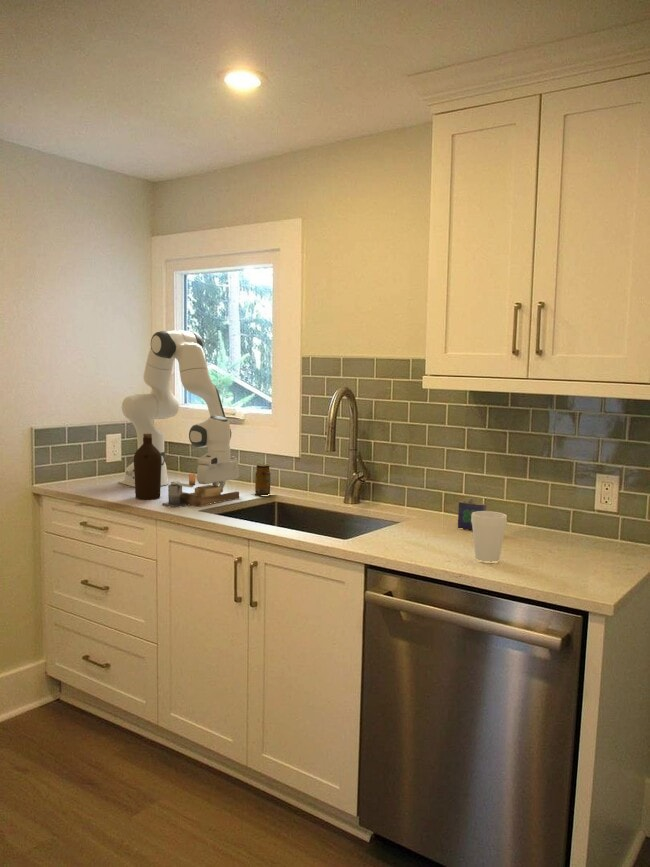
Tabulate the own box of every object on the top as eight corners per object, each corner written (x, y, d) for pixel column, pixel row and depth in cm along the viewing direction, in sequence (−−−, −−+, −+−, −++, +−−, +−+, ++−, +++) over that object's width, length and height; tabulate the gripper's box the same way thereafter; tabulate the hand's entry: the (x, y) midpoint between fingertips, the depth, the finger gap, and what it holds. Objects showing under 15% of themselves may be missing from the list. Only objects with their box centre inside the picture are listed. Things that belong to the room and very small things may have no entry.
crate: (194, 500, 278) (194, 487, 278) (209, 497, 285) (209, 484, 284) (205, 502, 275) (205, 489, 274) (220, 499, 281) (220, 486, 281)
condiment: (265, 492, 299) (265, 463, 298) (277, 495, 293) (277, 466, 292) (250, 494, 295) (250, 464, 294) (262, 497, 288) (262, 467, 287)
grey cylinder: (162, 505, 269) (162, 485, 268) (176, 502, 274) (176, 483, 274) (175, 507, 265) (175, 487, 264) (188, 505, 270) (188, 485, 269)
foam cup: (464, 561, 199) (466, 515, 198) (477, 554, 207) (479, 509, 206) (497, 567, 194) (499, 519, 193) (509, 560, 202) (511, 514, 200)
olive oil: (166, 498, 282) (166, 434, 279) (140, 501, 276) (139, 435, 273) (155, 494, 290) (154, 432, 288) (129, 496, 284) (129, 433, 282)
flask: (486, 530, 237) (487, 498, 236) (483, 532, 234) (484, 499, 233) (459, 527, 241) (460, 495, 240) (455, 528, 239) (456, 496, 238)
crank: (169, 484, 268) (169, 471, 268) (175, 483, 271) (175, 470, 270) (190, 488, 261) (190, 475, 261) (197, 487, 264) (197, 473, 264)
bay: (175, 502, 275) (175, 491, 274) (217, 494, 292) (217, 484, 292) (197, 506, 268) (197, 495, 267) (239, 498, 285) (239, 488, 285)
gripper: (231, 454, 293) (231, 488, 295) (194, 459, 277) (194, 495, 278) (243, 455, 290) (242, 490, 291) (206, 461, 273) (206, 497, 275)
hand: (218, 492), depth 284 cm, fingers closed
